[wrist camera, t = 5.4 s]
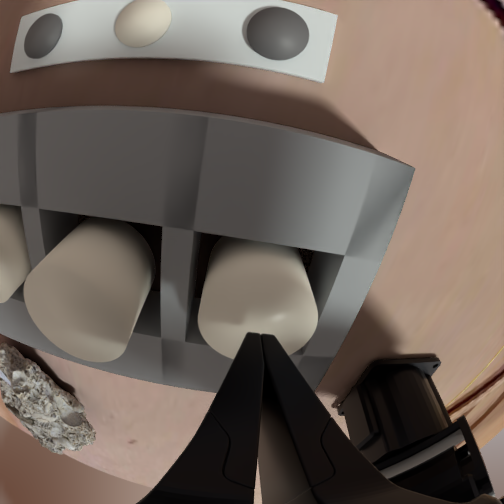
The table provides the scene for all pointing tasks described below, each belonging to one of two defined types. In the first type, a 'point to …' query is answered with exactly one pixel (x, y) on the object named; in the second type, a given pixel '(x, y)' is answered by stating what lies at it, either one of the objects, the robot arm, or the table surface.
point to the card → (180, 34)
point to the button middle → (92, 289)
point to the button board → (200, 217)
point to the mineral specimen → (42, 404)
